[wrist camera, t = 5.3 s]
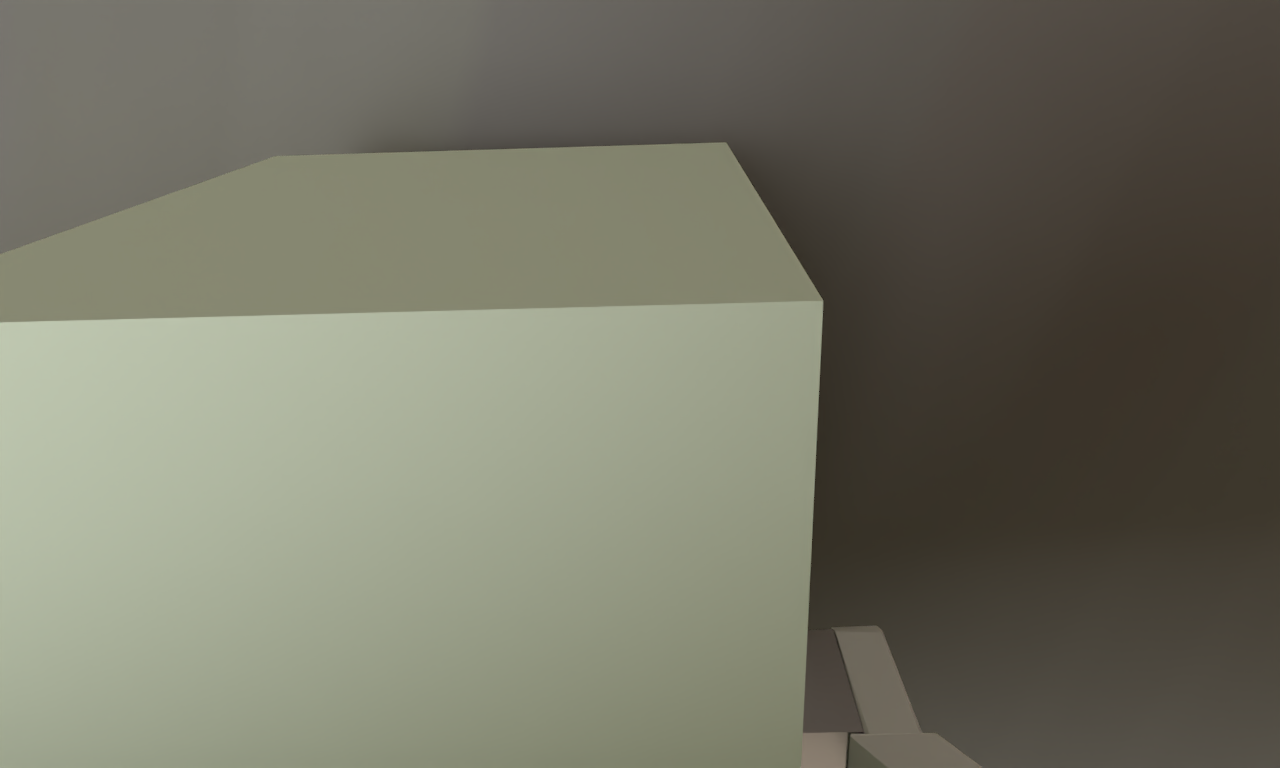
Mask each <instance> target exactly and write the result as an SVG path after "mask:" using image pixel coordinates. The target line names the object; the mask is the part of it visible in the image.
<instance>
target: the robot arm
mask: <svg viewBox="0 0 1280 768" xmlns="http://www.w3.org/2000/svg"><path fill="white" fill-rule="evenodd" d="M801 768H983V767H981V766H980V765H979V764H977V763H976V762H975V761H973V760H972V759H971V758H969V757H968V756H967V755H965V754H964V753H963V752H961V751H960V750H959V749H957V748H956V747H955V746H953V745H952V744H951V743H949V742H948V741H946V740H945V739H944V738H942V737H941V736H940V735H938V734H937V733H922V731H921V729H920V726H919V724H918V721H917V718H916V716H915V713H914V711H913V708H912V706H911V703H910V700H909V698H908V695H907V693H906V690H905V688H904V685H903V682H902V680H901V677H900V675H899V672H898V669H897V667H896V664H895V662H894V659H893V657H892V654H891V651H890V649H889V646H888V644H887V641H886V638H885V636H884V633H883V631H882V630H881V629H880V628H879V627H878V626H876V625H874V626H852V627H831V629H813V630H808V633H807V654H806V675H805V696H804V717H803V738H802V758H801Z"/></svg>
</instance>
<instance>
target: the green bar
mask: <svg viewBox="0 0 1280 768" xmlns="http://www.w3.org/2000/svg"><path fill="white" fill-rule="evenodd" d="M822 320H823V299H822V298H821V296H820V294H819V293H818V291H817V290H816V288H815V286H814V285H813V283H812V281H811V280H810V278H809V277H808V275H807V273H806V272H805V270H804V268H803V267H802V265H801V263H800V262H799V260H798V259H797V257H796V255H795V254H794V252H793V250H792V249H791V247H790V246H789V244H788V242H787V241H786V239H785V237H784V236H783V234H782V233H781V231H780V229H779V228H778V226H777V224H776V223H775V221H774V219H773V218H772V216H771V215H770V213H769V211H768V210H767V208H766V206H765V205H764V203H763V202H762V200H761V198H760V197H759V195H758V193H757V192H756V190H755V189H754V187H753V185H752V184H751V182H750V180H749V179H748V177H747V175H746V174H745V172H744V171H743V169H742V167H741V166H740V164H739V162H738V161H737V159H736V158H735V156H734V154H733V153H732V151H731V149H730V148H729V146H728V145H727V143H726V142H722V143H689V144H657V145H624V146H591V147H558V148H525V149H492V150H460V151H427V152H394V153H361V154H328V155H296V156H274V157H271V158H269V159H266V160H263V161H260V162H257V163H255V164H252V165H249V166H246V167H243V168H241V169H238V170H235V171H232V172H229V173H227V174H224V175H221V176H218V177H215V178H213V179H210V180H207V181H204V182H201V183H199V184H196V185H193V186H190V187H187V188H185V189H182V190H179V191H176V192H173V193H171V194H168V195H165V196H162V197H159V198H157V199H154V200H151V201H148V202H145V203H143V204H140V205H137V206H134V207H131V208H129V209H126V210H123V211H120V212H117V213H115V214H112V215H109V216H106V217H103V218H101V219H98V220H95V221H92V222H89V223H87V224H84V225H81V226H78V227H75V228H72V229H70V230H67V231H64V232H61V233H58V234H56V235H53V236H50V237H47V238H44V239H42V240H39V241H36V242H33V243H30V244H28V245H25V246H22V247H19V248H16V249H14V250H11V251H8V252H5V253H2V254H0V768H801V758H802V738H803V717H804V696H805V675H806V654H807V633H808V612H809V591H810V570H811V550H812V529H813V508H814V487H815V466H816V445H817V424H818V403H819V382H820V361H821V341H822Z"/></svg>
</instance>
